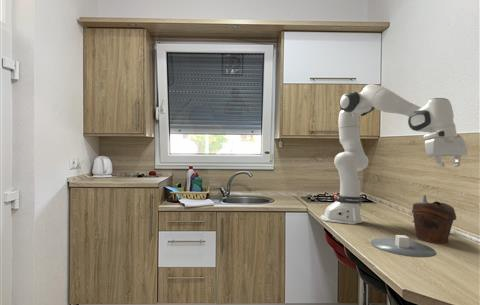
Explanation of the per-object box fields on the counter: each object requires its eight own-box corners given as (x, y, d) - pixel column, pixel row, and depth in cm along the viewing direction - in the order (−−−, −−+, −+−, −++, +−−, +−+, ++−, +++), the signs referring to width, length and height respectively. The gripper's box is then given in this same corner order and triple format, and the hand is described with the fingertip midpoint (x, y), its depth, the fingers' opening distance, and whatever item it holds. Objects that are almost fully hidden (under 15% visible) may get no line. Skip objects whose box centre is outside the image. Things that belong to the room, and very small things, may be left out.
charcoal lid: (382, 255, 128) (383, 242, 128) (363, 238, 152) (364, 227, 152) (447, 259, 126) (447, 246, 126) (417, 242, 150) (418, 231, 150)
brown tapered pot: (446, 236, 162) (447, 199, 162) (461, 247, 143) (463, 206, 142) (406, 232, 167) (407, 197, 167) (416, 243, 148) (417, 203, 147)
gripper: (454, 136, 148) (459, 166, 146) (420, 135, 141) (425, 168, 139) (468, 133, 142) (473, 165, 140) (433, 132, 135) (438, 166, 133)
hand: (449, 166), depth 140 cm, fingers open, 8 cm apart
